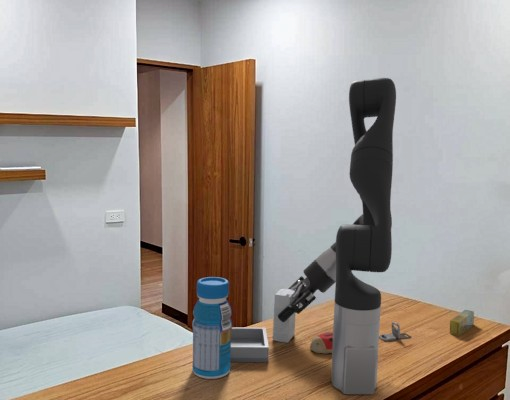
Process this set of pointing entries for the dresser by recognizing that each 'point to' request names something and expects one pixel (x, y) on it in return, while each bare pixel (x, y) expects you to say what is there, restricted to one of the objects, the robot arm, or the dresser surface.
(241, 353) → the gray open square tray
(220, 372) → the beverage bottle
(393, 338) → the strap clip
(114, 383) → the dresser surface
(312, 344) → the ladybug figurine
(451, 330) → the medication box
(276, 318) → the skincare box
